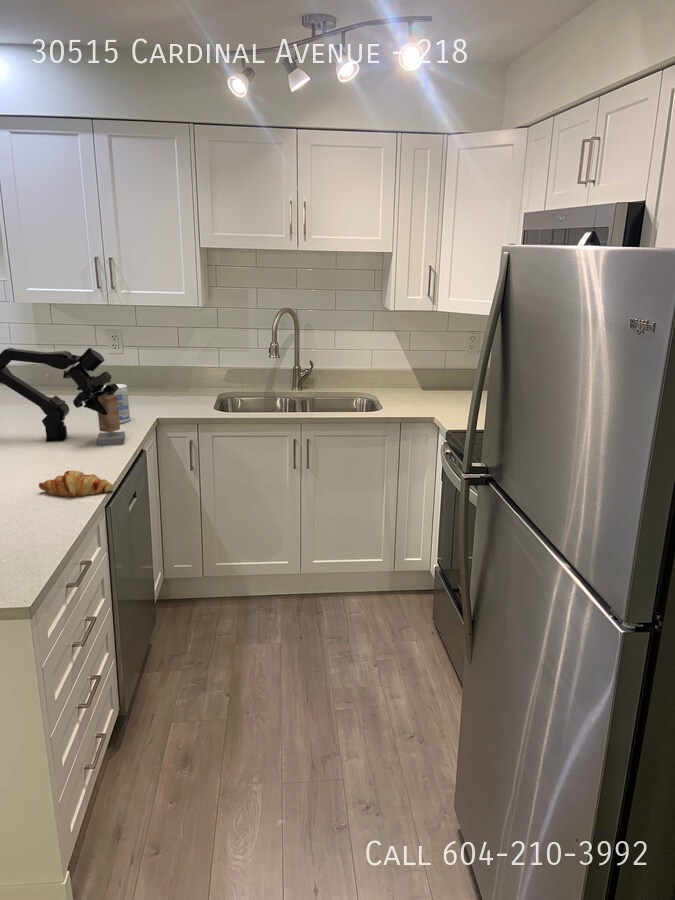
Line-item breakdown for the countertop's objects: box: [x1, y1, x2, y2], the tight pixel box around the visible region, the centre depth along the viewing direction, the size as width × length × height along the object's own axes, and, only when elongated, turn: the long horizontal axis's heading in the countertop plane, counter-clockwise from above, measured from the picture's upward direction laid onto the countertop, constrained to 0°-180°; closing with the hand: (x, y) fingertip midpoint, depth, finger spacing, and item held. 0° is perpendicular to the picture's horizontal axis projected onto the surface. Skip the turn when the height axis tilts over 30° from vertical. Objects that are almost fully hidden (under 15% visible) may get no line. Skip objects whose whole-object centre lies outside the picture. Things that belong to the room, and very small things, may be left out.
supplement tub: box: [102, 383, 131, 424], centre depth 264 cm, size 10×10×15 cm
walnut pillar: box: [97, 394, 121, 433], centre depth 235 cm, size 5×5×12 cm
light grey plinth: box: [96, 431, 126, 447], centre depth 238 cm, size 9×9×2 cm
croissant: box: [38, 470, 114, 498], centre depth 189 cm, size 21×10×8 cm, turn 94°
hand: (111, 412), depth 234 cm, fingers closed on walnut pillar, 5 cm apart
